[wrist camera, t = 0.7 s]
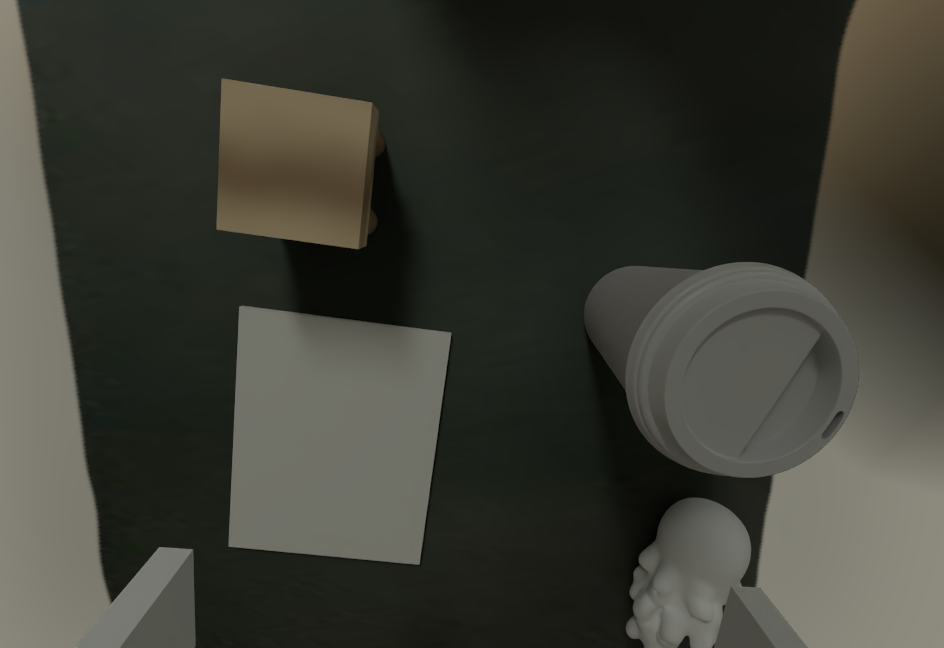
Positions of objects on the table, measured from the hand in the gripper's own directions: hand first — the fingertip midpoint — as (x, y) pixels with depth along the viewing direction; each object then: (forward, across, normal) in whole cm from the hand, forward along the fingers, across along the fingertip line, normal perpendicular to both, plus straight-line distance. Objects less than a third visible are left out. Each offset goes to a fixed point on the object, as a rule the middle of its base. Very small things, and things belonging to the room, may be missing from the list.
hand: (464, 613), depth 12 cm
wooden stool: (+23, -9, +10) cm, 27 cm away
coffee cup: (+23, +12, +4) cm, 26 cm away
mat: (+23, -8, -8) cm, 25 cm away
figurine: (+23, +18, -15) cm, 33 cm away
